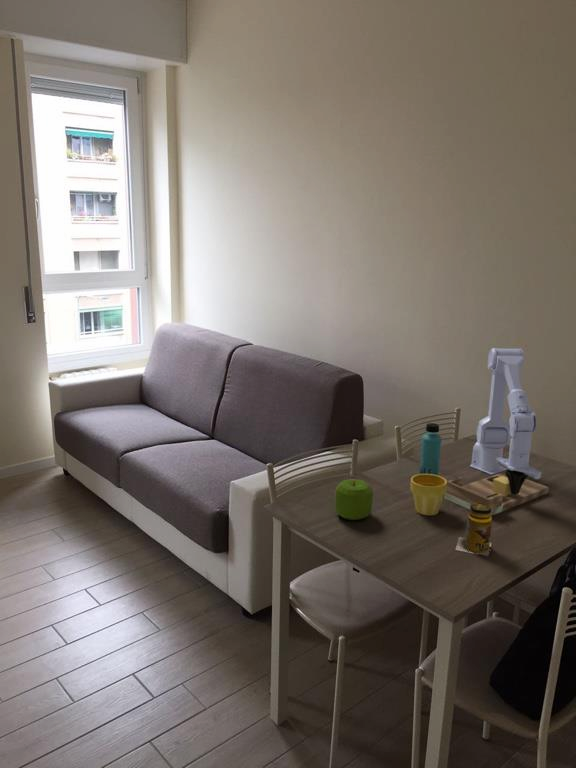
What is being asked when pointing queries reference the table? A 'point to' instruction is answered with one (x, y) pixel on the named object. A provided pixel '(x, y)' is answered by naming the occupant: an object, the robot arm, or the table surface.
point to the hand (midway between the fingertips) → (514, 493)
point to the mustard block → (501, 486)
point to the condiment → (477, 530)
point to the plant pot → (428, 492)
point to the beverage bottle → (430, 450)
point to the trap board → (491, 493)
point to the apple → (353, 499)
